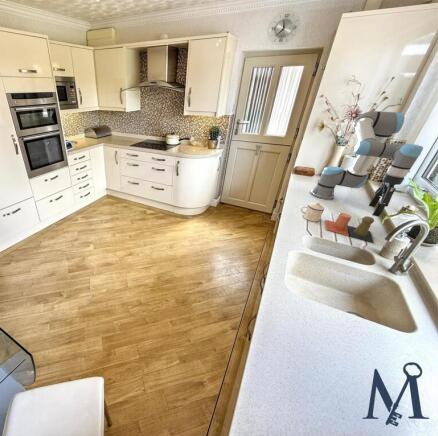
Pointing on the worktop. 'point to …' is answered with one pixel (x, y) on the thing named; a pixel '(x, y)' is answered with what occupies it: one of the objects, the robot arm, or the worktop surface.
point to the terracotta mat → (330, 228)
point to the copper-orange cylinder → (342, 221)
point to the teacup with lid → (313, 211)
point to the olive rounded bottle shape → (364, 226)
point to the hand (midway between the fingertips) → (373, 210)
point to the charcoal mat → (354, 235)
